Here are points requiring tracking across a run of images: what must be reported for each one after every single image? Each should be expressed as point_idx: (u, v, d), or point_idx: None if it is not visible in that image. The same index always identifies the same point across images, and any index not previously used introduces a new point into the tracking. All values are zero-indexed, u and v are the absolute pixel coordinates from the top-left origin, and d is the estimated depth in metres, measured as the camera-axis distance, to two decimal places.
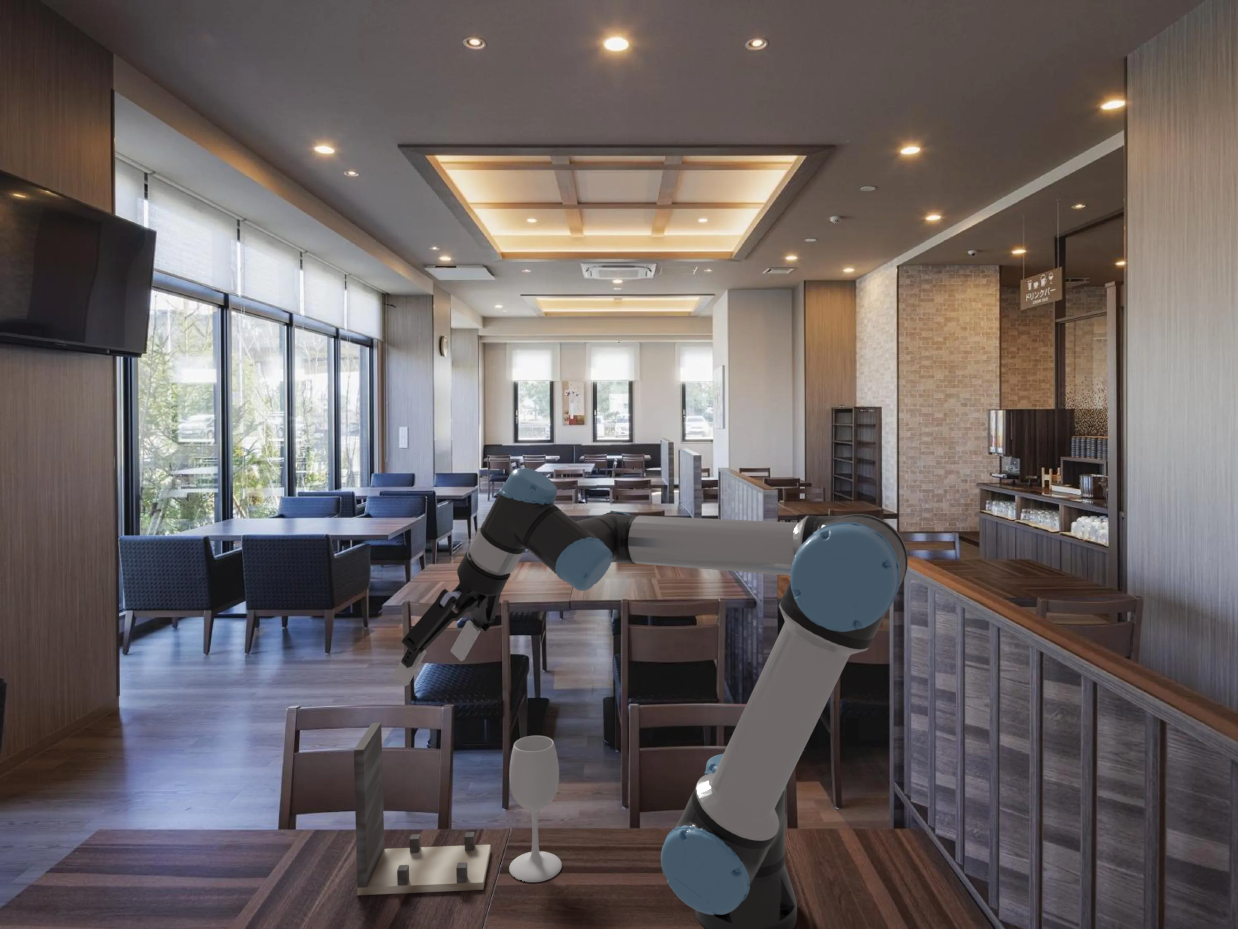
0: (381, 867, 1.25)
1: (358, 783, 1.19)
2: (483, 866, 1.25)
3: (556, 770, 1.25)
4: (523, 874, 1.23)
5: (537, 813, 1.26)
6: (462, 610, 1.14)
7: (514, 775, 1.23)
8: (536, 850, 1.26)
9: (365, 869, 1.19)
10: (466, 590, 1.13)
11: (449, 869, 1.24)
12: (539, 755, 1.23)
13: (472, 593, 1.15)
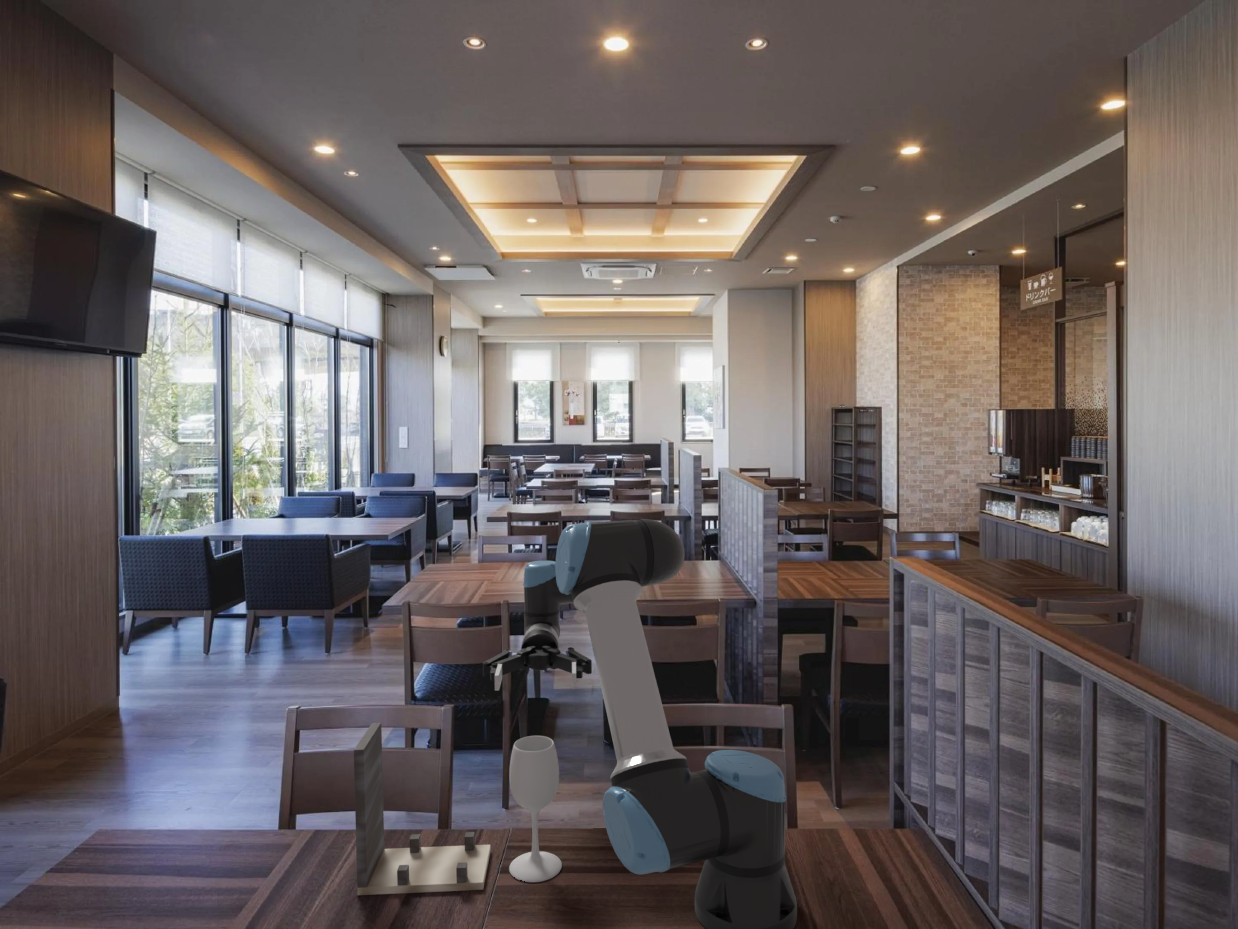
0: (381, 867, 1.25)
1: (358, 783, 1.19)
2: (483, 866, 1.25)
3: (556, 770, 1.25)
4: (523, 874, 1.23)
5: (537, 813, 1.26)
6: None
7: (514, 775, 1.23)
8: (536, 850, 1.26)
9: (365, 869, 1.19)
10: None
11: (449, 869, 1.24)
12: (539, 755, 1.23)
13: None
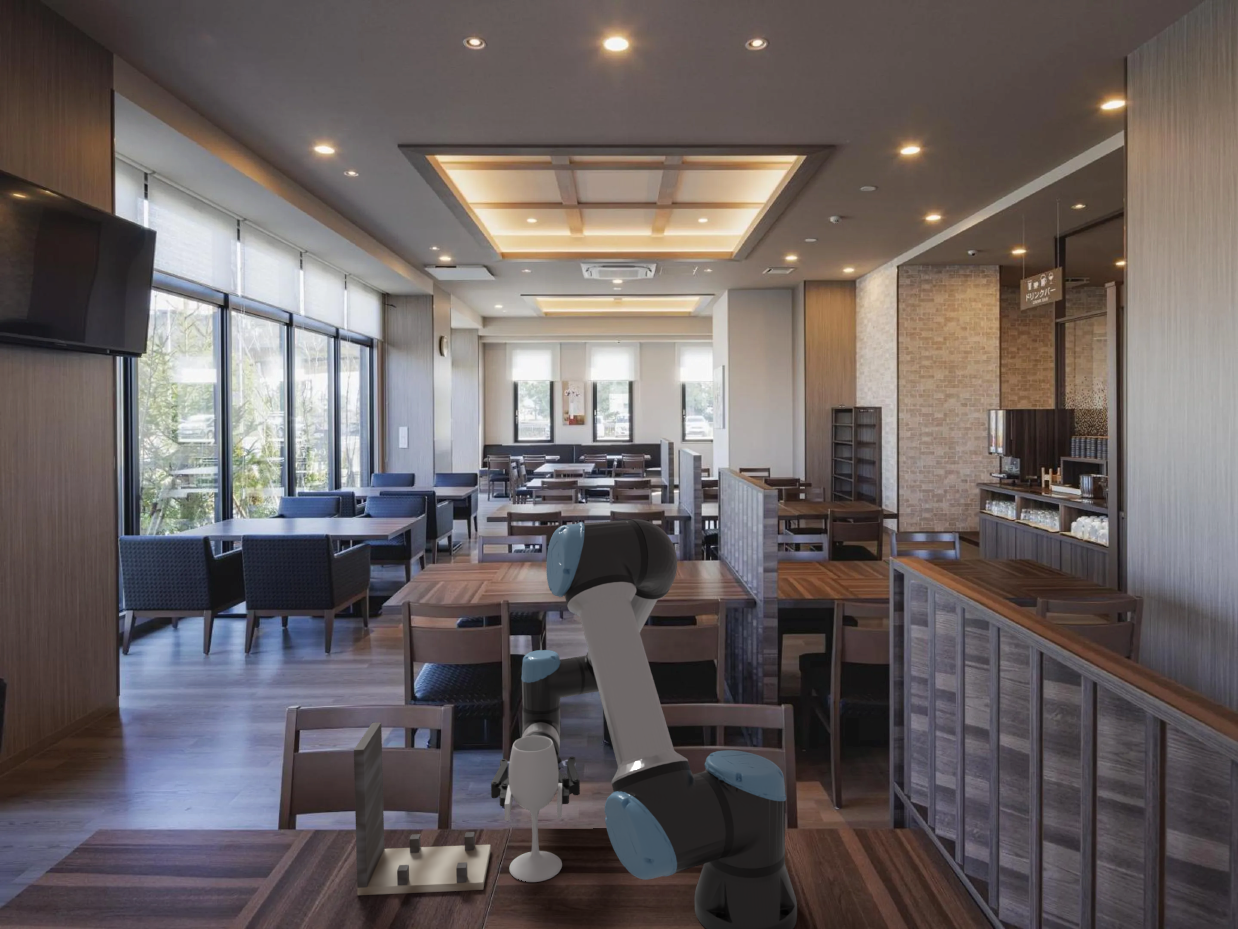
0: (381, 867, 1.25)
1: (358, 783, 1.19)
2: (483, 866, 1.25)
3: (555, 770, 1.24)
4: (524, 874, 1.23)
5: (537, 813, 1.26)
6: None
7: (513, 775, 1.23)
8: (536, 850, 1.26)
9: (365, 869, 1.19)
10: None
11: (449, 869, 1.24)
12: (538, 755, 1.22)
13: None
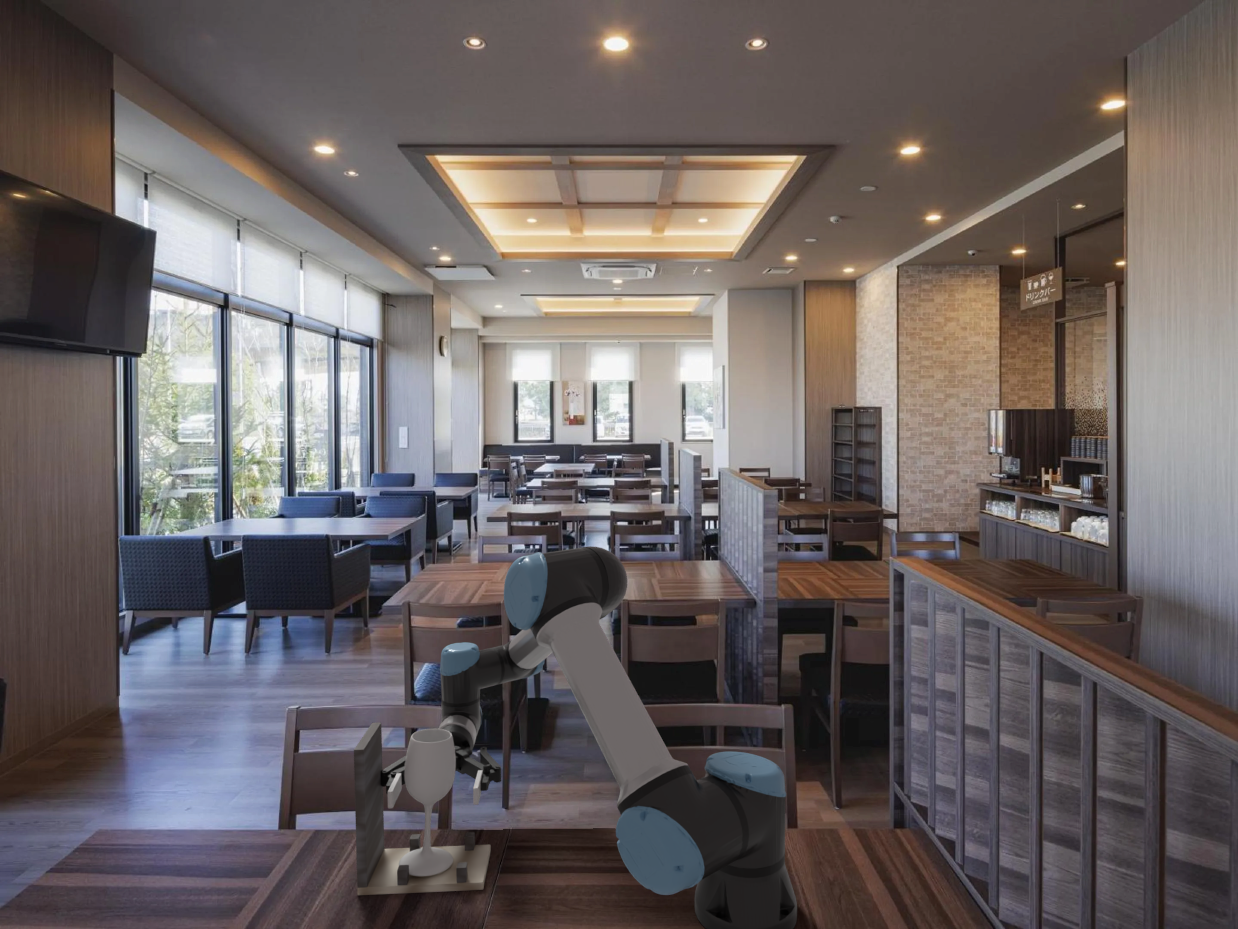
0: (381, 867, 1.25)
1: (358, 783, 1.19)
2: (483, 866, 1.25)
3: (451, 763, 1.24)
4: (411, 868, 1.22)
5: (430, 807, 1.25)
6: None
7: (408, 766, 1.23)
8: (427, 845, 1.25)
9: (365, 869, 1.19)
10: None
11: (449, 869, 1.24)
12: (434, 747, 1.22)
13: None
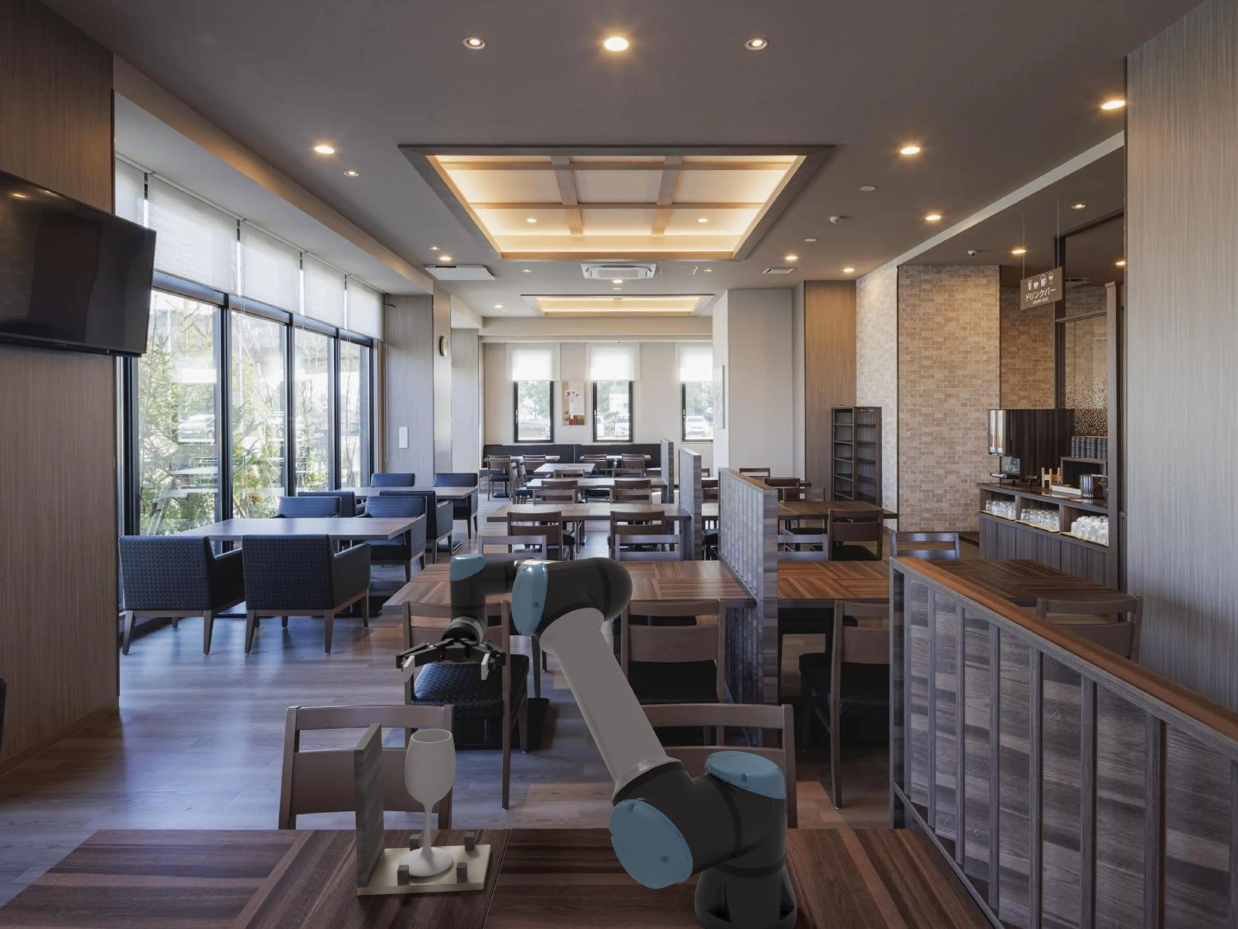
0: (381, 867, 1.25)
1: (358, 783, 1.19)
2: (483, 866, 1.25)
3: (451, 763, 1.24)
4: (411, 868, 1.22)
5: (430, 807, 1.25)
6: None
7: (408, 766, 1.23)
8: (427, 845, 1.25)
9: (365, 869, 1.19)
10: (440, 642, 1.51)
11: (449, 869, 1.24)
12: (434, 747, 1.22)
13: None
